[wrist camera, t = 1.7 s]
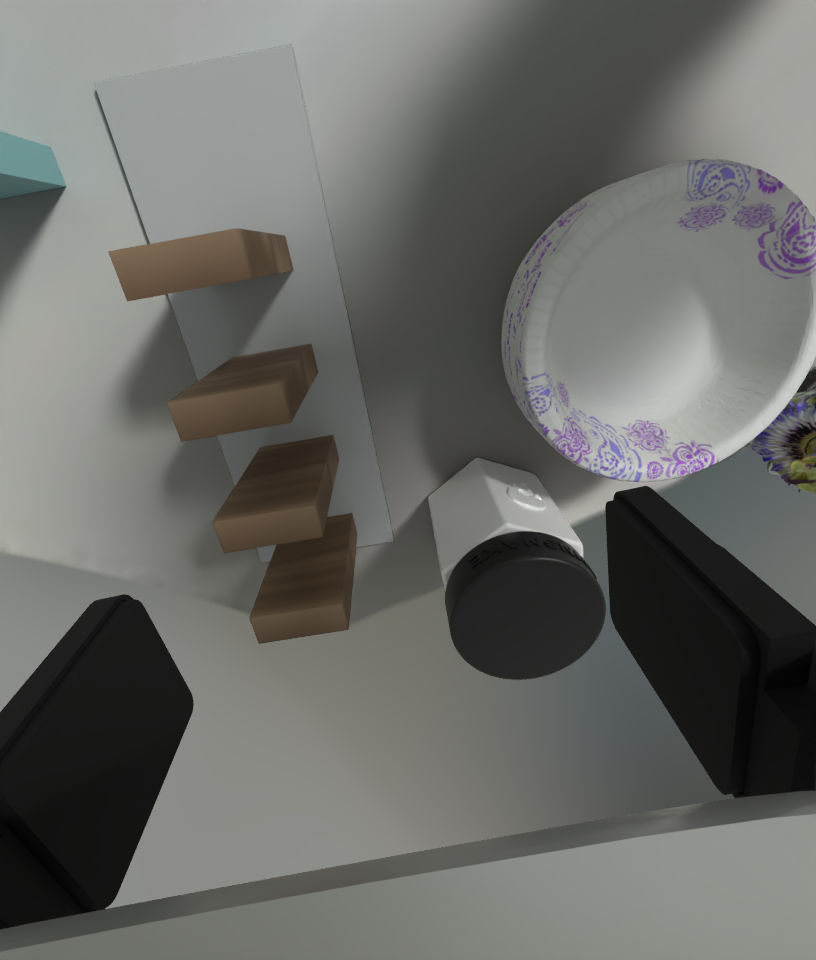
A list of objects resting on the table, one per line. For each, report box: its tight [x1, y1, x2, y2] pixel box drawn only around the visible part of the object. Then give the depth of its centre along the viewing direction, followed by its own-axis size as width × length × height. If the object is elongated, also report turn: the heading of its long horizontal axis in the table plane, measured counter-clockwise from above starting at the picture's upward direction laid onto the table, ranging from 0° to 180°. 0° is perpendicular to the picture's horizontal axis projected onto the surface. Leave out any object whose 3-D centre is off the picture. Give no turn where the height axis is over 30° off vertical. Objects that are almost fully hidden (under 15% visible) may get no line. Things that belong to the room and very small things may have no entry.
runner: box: [94, 44, 394, 563], centre depth 31 cm, size 29×10×1 cm, turn 9°
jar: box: [428, 458, 606, 680], centre depth 31 cm, size 9×8×12 cm
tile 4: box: [212, 435, 339, 553], centre depth 29 cm, size 2×5×10 cm, turn 100°
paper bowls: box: [501, 159, 816, 482], centre depth 27 cm, size 15×15×8 cm
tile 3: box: [167, 344, 318, 442], centre depth 26 cm, size 2×5×10 cm, turn 99°
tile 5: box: [250, 513, 357, 644], centre depth 31 cm, size 2×5×10 cm, turn 99°
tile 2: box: [109, 228, 294, 301], centre depth 24 cm, size 2×5×10 cm, turn 99°
